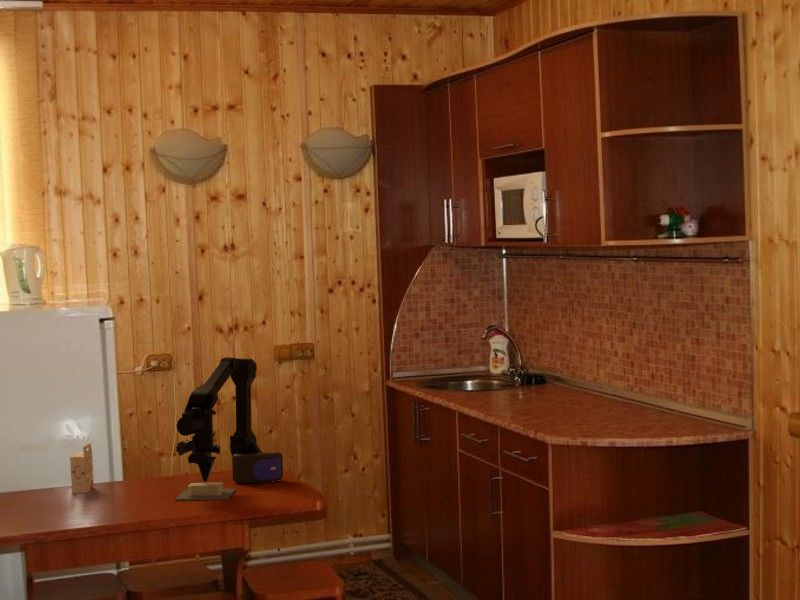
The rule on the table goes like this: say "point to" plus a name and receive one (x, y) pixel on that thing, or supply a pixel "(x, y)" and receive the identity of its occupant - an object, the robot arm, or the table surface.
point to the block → (205, 489)
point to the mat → (223, 496)
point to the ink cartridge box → (82, 471)
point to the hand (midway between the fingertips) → (205, 481)
